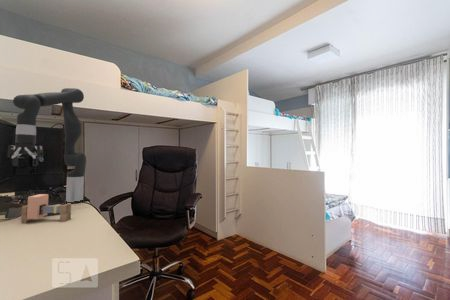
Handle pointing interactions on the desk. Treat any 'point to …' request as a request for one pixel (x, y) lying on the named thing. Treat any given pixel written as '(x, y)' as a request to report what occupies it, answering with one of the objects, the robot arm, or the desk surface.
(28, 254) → the desk surface
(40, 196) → the collar
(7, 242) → the desk surface
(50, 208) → the grey metal bar
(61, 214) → the stand
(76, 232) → the desk surface
